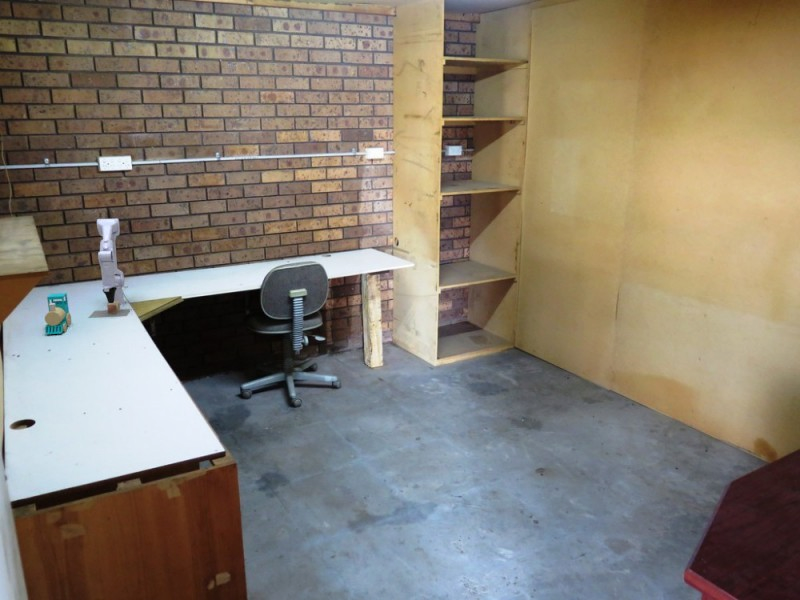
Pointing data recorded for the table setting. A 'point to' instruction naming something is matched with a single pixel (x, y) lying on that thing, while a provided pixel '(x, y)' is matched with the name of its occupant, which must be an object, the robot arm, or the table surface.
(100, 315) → the slate mat
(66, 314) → the toy train
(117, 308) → the maple block
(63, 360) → the table surface
